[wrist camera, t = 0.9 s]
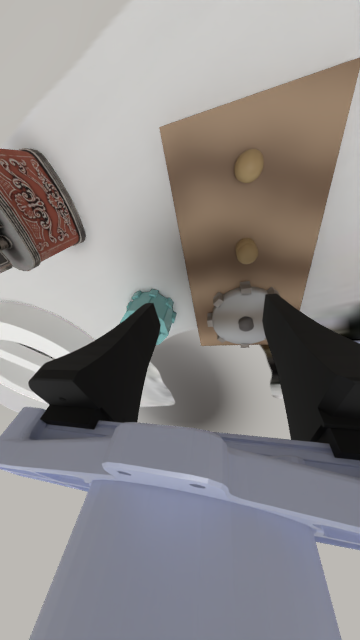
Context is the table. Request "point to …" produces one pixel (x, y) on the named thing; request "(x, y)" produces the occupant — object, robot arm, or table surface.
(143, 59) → the table surface
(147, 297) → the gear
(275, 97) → the board
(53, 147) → the table surface
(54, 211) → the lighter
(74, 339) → the ring with crossbar
